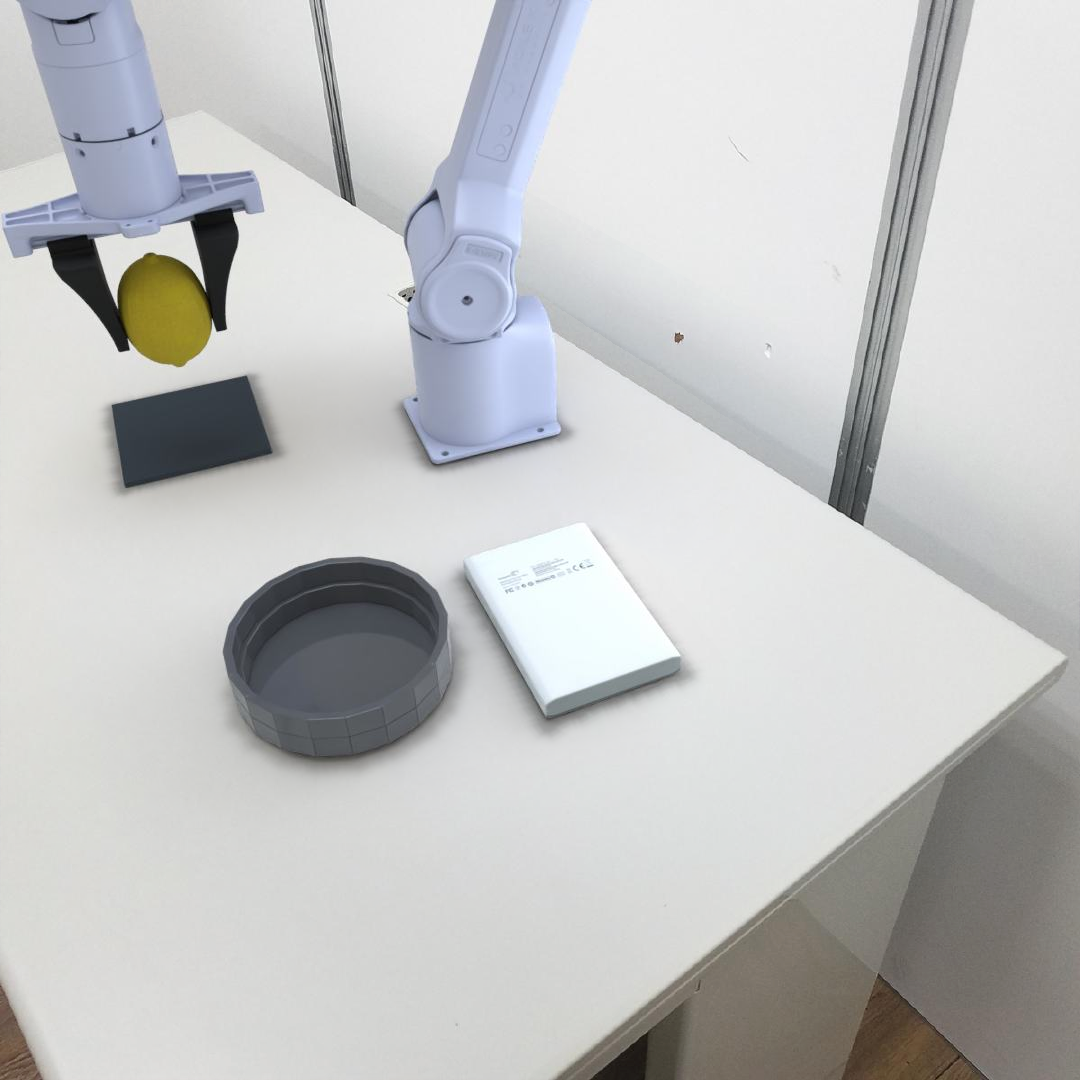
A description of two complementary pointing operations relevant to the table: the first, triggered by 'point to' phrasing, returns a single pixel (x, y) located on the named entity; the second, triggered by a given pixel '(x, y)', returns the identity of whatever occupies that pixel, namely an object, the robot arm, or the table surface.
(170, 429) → the mat
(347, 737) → the pan
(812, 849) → the table surface
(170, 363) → the lemon
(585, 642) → the hard drive
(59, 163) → the table surface
